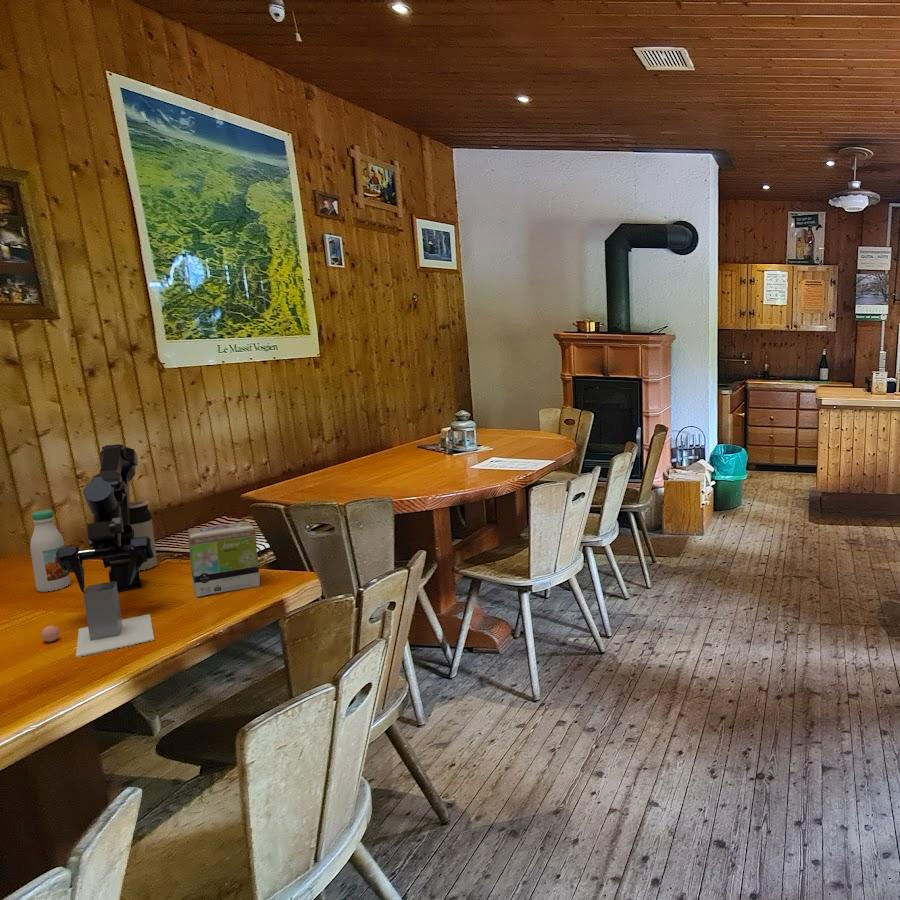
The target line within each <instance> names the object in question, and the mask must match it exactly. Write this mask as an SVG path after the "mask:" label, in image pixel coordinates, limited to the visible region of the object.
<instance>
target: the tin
mask: <svg viewBox="0 0 900 900" xmlns="http://www.w3.org/2000/svg"><path fill="white" fill-rule="evenodd" d="M82 595H83V603H84V608H85V616H86V622H87V627H88V629H89V636H90V641H92V640H98V639H103V638H109V637H115V636H119V635H120V632H121V629H122V627H123V626H122V620H123V619H122V613H121V612H122V611H121V606H120V600H119V599H120V598H119V591H118V590H117V583H116V581H114V582H110V581H109V582H102V583H96V584H89V585H87V586H86V588H85V589H84V592H82Z"/></svg>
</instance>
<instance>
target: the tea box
mask: <svg viewBox="0 0 900 900" xmlns="http://www.w3.org/2000/svg"><path fill="white" fill-rule="evenodd" d="M187 541H188V548H189V560H190V569H191V577H192V585H193V589H194V591H195V596H196V598H200V597H204V596H207V595H214V594H218V593H219V594H220V593H225V592H232V591H238V590H243V589H245V590H246V589H250V588H259V587H260V586H261V582H260V581H261V580H260V579H261V578H260V567H259V557H258V547H257V537H256V529H255V527H254V526H253V525H252V523H251V522H250V520H247V521H241V522H240V521H239V522H233V523H226V524H220V525H218V524H217V525H213V526H212V525H211V526H206V527H205V526H203V527H198V528H191V529H190V528H189V529H187Z"/></svg>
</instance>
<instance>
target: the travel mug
mask: <svg viewBox="0 0 900 900" xmlns="http://www.w3.org/2000/svg"><path fill="white" fill-rule="evenodd" d="M129 504H130V526H131V527H132V529H133V530H134V533H135V535H136V538H138V537H146V536H148V537H149V538H150V539H151V542H152V545H153V550H154V557H153V558H150V559H148V561H147V562H144V563H143V564H142V565H141V567H140V568H139V572H141V571H140V570H144V571H147V570H146V569H148V570H150V569H149V568H151V569H153V568H154V567H153V566H155V567H156V566H157V565H158V559H157V558H158V557H157V550H156V542H155V535H154V526H153V519H152V518H153V517H152V512H151V511H150V510H149V509H148V508H149V507H148V506H149V501H147V500H136V501H129ZM152 567H153V568H152Z"/></svg>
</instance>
